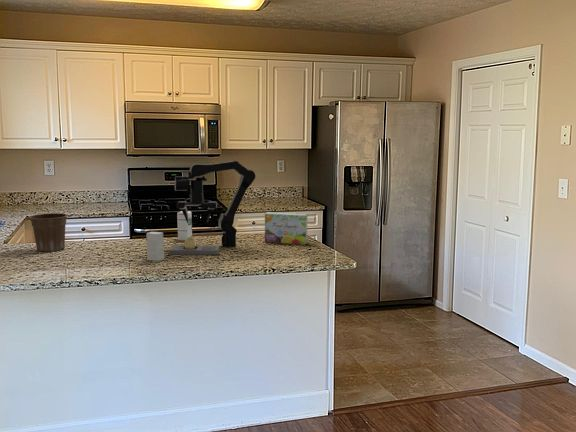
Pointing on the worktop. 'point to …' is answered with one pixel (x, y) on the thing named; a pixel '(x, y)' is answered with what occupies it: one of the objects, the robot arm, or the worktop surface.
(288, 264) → the worktop surface
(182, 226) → the syrup box
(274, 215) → the snack box
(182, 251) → the grey slotted board
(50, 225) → the plant pot
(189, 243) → the stepped wooden chunk
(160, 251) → the skincare box
